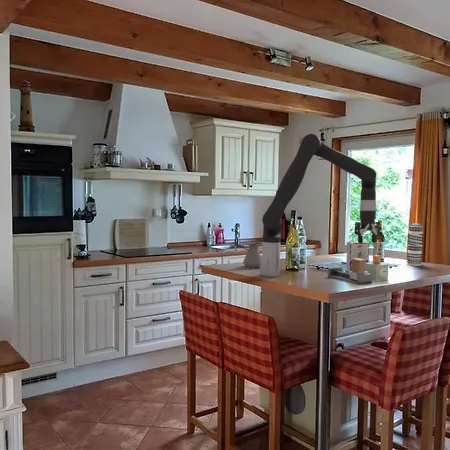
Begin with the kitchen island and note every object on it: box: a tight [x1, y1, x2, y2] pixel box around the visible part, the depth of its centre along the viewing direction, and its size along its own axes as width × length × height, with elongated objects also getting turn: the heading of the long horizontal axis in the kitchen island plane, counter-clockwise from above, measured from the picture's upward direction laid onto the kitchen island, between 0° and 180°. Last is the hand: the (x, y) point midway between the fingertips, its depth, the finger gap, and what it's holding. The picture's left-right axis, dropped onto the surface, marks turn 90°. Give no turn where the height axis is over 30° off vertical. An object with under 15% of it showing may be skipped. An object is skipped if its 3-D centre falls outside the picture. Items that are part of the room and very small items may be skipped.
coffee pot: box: [232, 241, 262, 269], centre depth 263 cm, size 21×12×15 cm, turn 127°
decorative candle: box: [406, 223, 425, 267], centre depth 287 cm, size 9×9×25 cm
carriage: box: [347, 258, 368, 280], centre depth 228 cm, size 7×6×10 cm
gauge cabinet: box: [365, 261, 389, 282], centre depth 236 cm, size 8×9×8 cm
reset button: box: [372, 254, 381, 264], centre depth 236 cm, size 3×3×4 cm
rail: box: [327, 266, 373, 286], centre depth 233 cm, size 8×22×5 cm, turn 29°
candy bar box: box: [345, 241, 370, 273], centre depth 257 cm, size 11×5×16 cm, turn 101°
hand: (367, 243), depth 229 cm, fingers open, 8 cm apart
